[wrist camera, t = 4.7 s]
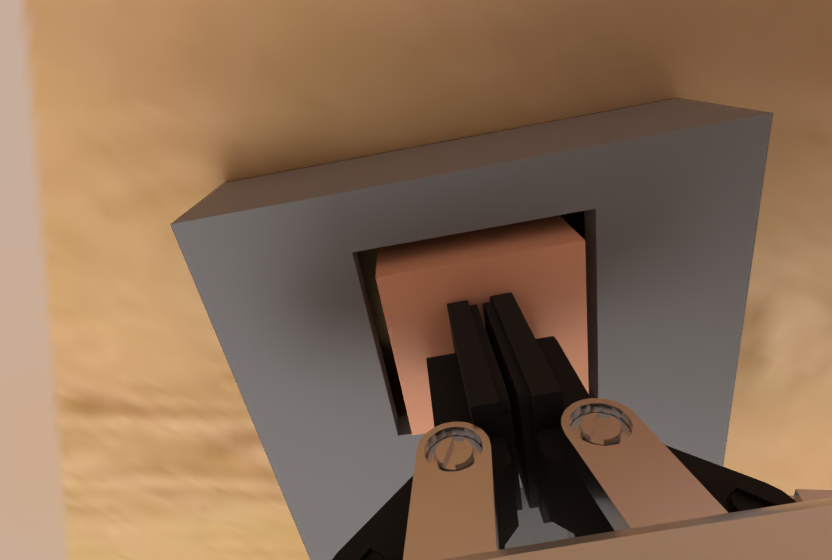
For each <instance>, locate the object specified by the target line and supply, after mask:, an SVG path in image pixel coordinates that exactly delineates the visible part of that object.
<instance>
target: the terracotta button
mask: <svg viewBox="0 0 832 560" xmlns="http://www.w3.org/2000/svg"><path fill="white" fill-rule="evenodd" d="M376 282H377V286H378V291H379V295H380V299H381V303H382V308H383V312H384V316H385V321H386V325H387V329H388V333H389V338H390V342H391V346H392V350H393V355H394V359H395V363H396V368H397V372H398V376H399V380H400V385H401V389H402V393H403V397H404V402H405V406H406V410H407V415H408V419H409V423H410V427H411V432H412V435H418V434H424V433H427V432H428V431H430V430H431V429H432V428H434V420H433V412H432V403H431V395H430V387H429V378H428V370H427V361H426V358H429V357H435V356H440V355H446V354H452V353H455V351H454V345H453V339H452V333H451V327H450V321H449V315H448V309H447V304H448V303H454V302H459V301H465V300H468V303H469V305H474V304H477V306H478V309H479V312H480V315H481V318H482V320H483V323H484V326H485V319H484V311H483V303H485V302H490V296H493V295H499V294H504V293H510V292H512V294H513V296H514V298H515V300H516V302H517V304H518V306H519V307H520V309H521V311H522V313H523V315H524V317H525V319H526V321H527V323H528V325H529V327H530V329H531V331H532V333H533V335H534V337H535V339H538V338H544V337H549V336H554V337H555V338H556V339H557V341H558V343H559V344H560V346H561V348H562V349H563V351H564V353H565V355H566V356H567V358H568V360H569V361H570V363H571V365H572V367H573V368H574V370H575V372H576V373H577V375H578V377H579V379H580V380H581V382H582V384H583V385H584V387H585V389H586V391H587V392H588V394H589V383H588V340H587V296H586V253H585V240H584V239H583V238H582V237H581V236H580V235H579V234H578V233H577V232H576V231H575V230H574V229H573V228H572V227H571V226H570V225H569V224H568V223H567V222H566V221H565V220H564V219H563V218H562V217H560V216H559V215H558V216H552V217H546V218H541V219H535V220H530V221H524V222H519V223H513V224H508V225H502V226H497V227H491V228H485V229H480V230H474V231H469V232H463V233H458V234H452V235H447V236H441V237H435V238H430V239H424V240H419V241H413V242H408V243H402V244H397V245H391V246H385V247H380V248H378V251H377V264H376ZM485 329H486V326H485Z"/></svg>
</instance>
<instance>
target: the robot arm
mask: <svg viewBox="0 0 832 560" xmlns="http://www.w3.org/2000/svg"><path fill="white" fill-rule="evenodd" d="M447 309H448V315H449V321H450V327H451V333H452V339H453V345H454V351H455V353H452V354H446V355H440V356H435V357H429V358H426V361H427V370H428V378H429V387H430V395H431V403H432V412H433V420H434V428H432V429H431V430H430V431H428V432H427V433H426V434H425V435H424V436H423V437H422V439H421V440H420V441H419V444H418V447H417V451H416V459H415V467H414V475H413V476H412V477H411V478H410V479H409V480H408V481H407V482H406V483H405V484H404V485H403V486H402V487H401V488H400V489H399V490H398V491H397V492H396V493H395V494H394V495H393V496H392V497H391V498H390V499H389V500H388V501H387V502H386V503H385V504H384V505H383V506H382V507H381V508H380V510H379V511H378V512H377V513H376V514H375V515H374V516H373V517H372V518H371V519H370V520H369V521H368V522H367V523H366V524H365V525H364V526H363V527H362V528H361V529H360V530H359V531H358V532H357V533H356V534H355V535H354V536H353V537H352V538H351V539H350V540H349V541H348V542H347V543H346V544H345V545H344V546H343V547H342V548H341V549H340V550H339V551H338V552H337V554H336V555H335V556H334V558H333V559H332V560H832V490H807V489H796V490H795V494H794V496H788V495H787V494H786V493H784V492H783V491H781V490H780V489H778V488H775V487H773V486H771V485H769V484H767V483H765V482H762V481H760V480H757V479H754V478H752V477H749V476H746V475H744V474H741V473H738V472H736V471H733V470H730V469H728V468H725V467H722V466H720V465H717V464H714V463H712V462H709V461H706V460H704V459H701V458H698V457H696V456H693V455H690V454H688V453H685V452H682V451H680V450H677V449H674V448H672V447H669V446H667V445H664V444H663V442H662V441H661V440H660V439H659V438H658V437H657V436H656V435H655V434H654V433H653V432H652V431H651V430H650V429H649V428H648V427H647V425H646V424H645V423H644V422H643V421H642V420H641V419H640V418H639V417H638V416H637V415H636V414H635V413H634V412H633V411H632V410H630V409H629V408H628V407H627V406H625V405H623V404H620V403H618V402H616V401H612V400H608V399H604V398H591V397H590V396H589V394H588V392H587V391H586V389H585V387H584V385H583V384H582V382H581V380H580V379H579V377H578V375H577V373H576V372H575V370H574V368H573V367H572V365H571V363H570V361H569V360H568V358H567V356H566V355H565V353H564V351H563V349H562V348H561V346H560V344H559V343H558V341H557V339H556V338H555V337H554V336H549V337H544V338H538V339H535V337H534V335H533V333H532V331H531V329H530V327H529V325H528V323H527V321H526V319H525V317H524V315H523V313H522V311H521V309H520V307H519V306H518V304H517V302H516V300H515V298H514V296H513V294H512V292H510V293H504V294H499V295H493V296H490V302H485V303H483V311H484V319H485V326H486V329H485V326H484V323H483V320H482V318H481V315H480V312H479V309H478V306H477V304H474V305H469V303H468V300H465V301H459V302H454V303H448V304H447ZM519 476H520V479H521V483H522V486H523V489H524V492H525V496H526V499H527V502H528V505H529V507H530V509H531V508H537V507H539V510H540V514H541V517H542V520H543V523H550V522H553V523H555V524H557V525H559V526H561V527H562V528H564V529H566V530H567V536H568V539H562V540H556V541H550V542H544V543H537V544H531V545H525V546H519V547H513V548H507V549H506V548H505V545H506V543H507V542H508V540H509V539H510V538H511V536H512V535H513V533H514V532H515V531H516V529H517V528H518V526H519V522H518V513H517V511H518V510H522V499H521V490H520V482H519Z"/></svg>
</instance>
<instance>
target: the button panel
mask: <svg viewBox="0 0 832 560" xmlns="http://www.w3.org/2000/svg"><path fill="white" fill-rule="evenodd" d="M772 116H773V113H769V112H763V111H756V110H750V109H744V108H737V107H731V106H724V105H718V104H712V103H705V102H699V101H692V100H686V99H680V98H675V99H670V100H665V101H659V102H654V103H649V104H643V105H638V106H633V107H627V108H622V109H617V110H611V111H606V112H600V113H595V114H590V115H584V116H579V117H574V118H568V119H563V120H558V121H552V122H547V123H542V124H536V125H531V126H526V127H520V128H515V129H509V130H504V131H499V132H493V133H488V134H483V135H477V136H472V137H467V138H461V139H456V140H451V141H445V142H440V143H435V144H429V145H424V146H418V147H413V148H408V149H402V150H397V151H392V152H386V153H381V154H376V155H370V156H365V157H360V158H354V159H349V160H344V161H338V162H333V163H327V164H322V165H317V166H311V167H306V168H301V169H295V170H290V171H285V172H279V173H274V174H269V175H263V176H258V177H253V178H247V179H242V180H236V181H231V182H226V183H223V184H222V185H221V186H219V187H218V188H217V189H216V190H214V191H213V192H212V193H210V194H209V195H208V196H206V197H205V198H204V199H203V200H201V201H200V202H199V203H197V204H196V205H195V206H193V207H192V208H191V209H190V210H188V211H187V212H186V213H184V214H183V215H182V216H180V217H179V218H178V219H177V220H175V221H174V222H173V223H171V224H170V225H171V227H172V230H173V232H174V234H175V237H176V239H177V242H178V244H179V246H180V249H181V251H182V253H183V256H184V258H185V261H186V263H187V265H188V268H189V270H190V273H191V275H192V277H193V280H194V282H195V285H196V287H197V289H198V292H199V294H200V297H201V299H202V301H203V304H204V306H205V309H206V311H207V313H208V316H209V318H210V321H211V323H212V325H213V328H214V330H215V333H216V335H217V337H218V340H219V342H220V345H221V347H222V349H223V352H224V354H225V357H226V359H227V361H228V364H229V366H230V369H231V371H232V373H233V376H234V378H235V381H236V383H237V385H238V388H239V390H240V393H241V395H242V397H243V400H244V402H245V404H246V407H247V409H248V412H249V414H250V416H251V419H252V421H253V424H254V426H255V428H256V431H257V433H258V436H259V438H260V440H261V443H262V445H263V448H264V450H265V452H266V455H267V457H268V460H269V462H270V464H271V467H272V469H273V472H274V474H275V476H276V479H277V481H278V484H279V486H280V488H281V491H282V493H283V496H284V498H285V500H286V503H287V505H288V508H289V510H290V512H291V515H292V517H293V520H294V522H295V524H296V527H297V529H298V532H299V534H300V536H301V539H302V541H303V544H304V546H305V548H306V551H307V553H308V555H309V558H310V560H332V559H333V558H334V556H335V555H336V554H337V552H338V551H339V550H340V549H341V548H342V547H343V546H344V545H345V544H346V543H347V542H348V541H349V540H350V539H351V538H352V537H353V536H354V535H355V534H356V533H357V532H358V531H359V530H360V529H361V528H362V527H363V526H364V525H365V524H366V523H367V522H368V521H369V520H370V519H371V518H372V517H373V516H374V515H375V514H376V513H377V512H378V511H379V510H380V508H381V507H382V506H383V505H384V504H385V503H386V502H387V501H388V500H389V499H390V498H391V497H392V496H393V495H394V494H395V493H396V492H397V491H398V490H399V489H400V488H401V487H402V486H403V485H404V484H405V483H406V482H407V481H408V480H409V479H410V478H411V477H412V476H413V475H414V467H415V459H416V451H417V447H418V444H419V441H420V440H421V439H422V437H423V436H424V435H425V434H426V433H424V434H418V435H412V432H411V427H410V423H409V419H408V416H404V417H398V416H397V412H396V408H395V404H394V400H393V396H392V392H391V388H390V384H389V380H388V376H387V372H386V367H385V363H384V359H383V355H382V351H381V347H380V343H379V339H378V335H377V331H376V327H375V323H374V319H373V315H372V311H371V307H370V302H369V298H368V294H367V290H366V286H365V282H364V278H363V274H362V270H361V266H360V262H359V258H358V254H357V252H358V251H363V250H369V249H374V248H380V247H385V246H391V245H397V244H402V243H408V242H413V241H419V240H424V239H430V238H435V237H441V236H447V235H452V234H458V233H463V232H469V231H474V230H480V229H485V228H491V227H497V226H502V225H508V224H513V223H519V222H524V221H530V220H535V219H541V218H546V217H552V216H558V215H563V214H569V213H574V212H580V211H584V217H585V253H586V296H587V340H588V383H589V396H590V397H591V398H604V399H608V400H612V401H616V402H618V403H620V404H623V405H625V406H627V407H628V408H629V409H630V410H632V411H633V412H634V413H635V414H636V415H637V416H638V417H639V418H640V419H641V420H642V421H643V422H644V423H645V424H646V425H647V427H648V428H649V429H650V430H651V431H652V432H653V433H654V434H655V435H656V436H657V437H658V438H659V439H660V440H661V441H662V442H663V444H664V445H667V446H669V447H672V448H674V449H677V450H680V451H682V452H685V453H688V454H690V455H693V456H696V457H698V458H701V459H704V460H706V461H709V462H712V463H714V464H717V465H720V466H722V467H723V463H724V456H725V449H726V442H727V435H728V428H729V421H730V414H731V407H732V399H733V392H734V385H735V378H736V371H737V364H738V357H739V350H740V343H741V336H742V328H743V321H744V314H745V307H746V300H747V293H748V286H749V279H750V272H751V265H752V257H753V250H754V243H755V236H756V229H757V222H758V215H759V208H760V201H761V194H762V186H763V179H764V172H765V165H766V158H767V151H768V144H769V137H770V130H771V123H772ZM519 482H520V488H523V486H522V483H521V479H520V476H519Z"/></svg>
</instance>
